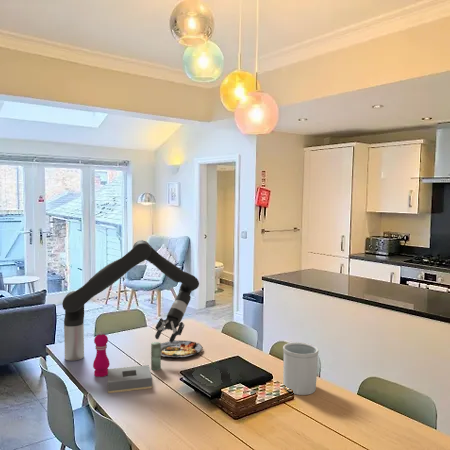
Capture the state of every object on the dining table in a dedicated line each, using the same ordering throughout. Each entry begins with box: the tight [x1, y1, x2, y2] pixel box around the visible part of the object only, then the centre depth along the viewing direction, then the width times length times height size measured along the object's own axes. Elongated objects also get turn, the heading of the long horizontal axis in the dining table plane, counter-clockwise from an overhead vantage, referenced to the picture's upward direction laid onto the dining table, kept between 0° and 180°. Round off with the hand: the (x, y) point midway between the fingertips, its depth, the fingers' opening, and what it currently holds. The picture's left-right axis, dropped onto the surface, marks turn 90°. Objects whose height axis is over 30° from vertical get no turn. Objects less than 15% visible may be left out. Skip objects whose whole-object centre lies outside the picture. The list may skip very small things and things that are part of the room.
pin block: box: [107, 364, 153, 394], centre depth 182 cm, size 14×18×4 cm
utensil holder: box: [282, 341, 320, 396], centre depth 179 cm, size 15×15×18 cm
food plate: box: [160, 339, 203, 358], centre depth 220 cm, size 25×23×4 cm
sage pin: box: [150, 341, 162, 371], centre depth 198 cm, size 4×4×12 cm
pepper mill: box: [92, 330, 111, 378], centre depth 191 cm, size 7×7×20 cm
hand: (163, 340), depth 202 cm, fingers open, 8 cm apart
